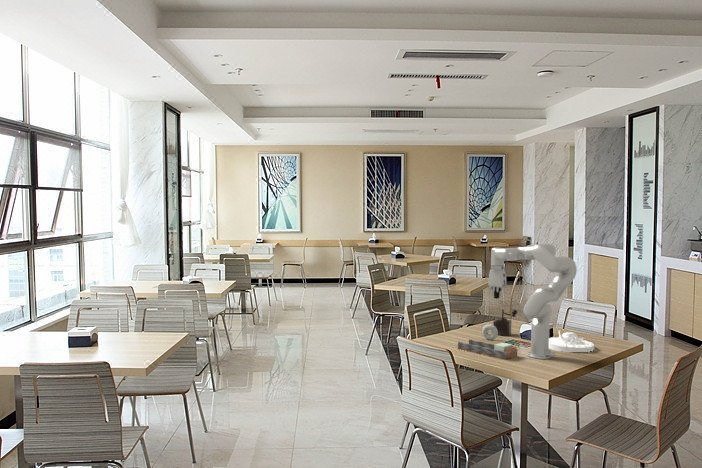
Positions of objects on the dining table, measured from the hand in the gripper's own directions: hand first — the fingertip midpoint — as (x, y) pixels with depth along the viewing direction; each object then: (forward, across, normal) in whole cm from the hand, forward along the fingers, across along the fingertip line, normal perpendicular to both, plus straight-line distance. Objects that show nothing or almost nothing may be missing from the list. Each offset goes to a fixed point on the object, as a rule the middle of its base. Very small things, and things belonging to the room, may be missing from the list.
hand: (496, 298), depth 335 cm
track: (+29, -6, +18) cm, 35 cm away
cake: (+30, -30, -33) cm, 54 cm away
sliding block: (+27, -17, +18) cm, 37 cm away
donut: (+29, +12, -12) cm, 34 cm away
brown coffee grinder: (+29, +14, -34) cm, 47 cm away
